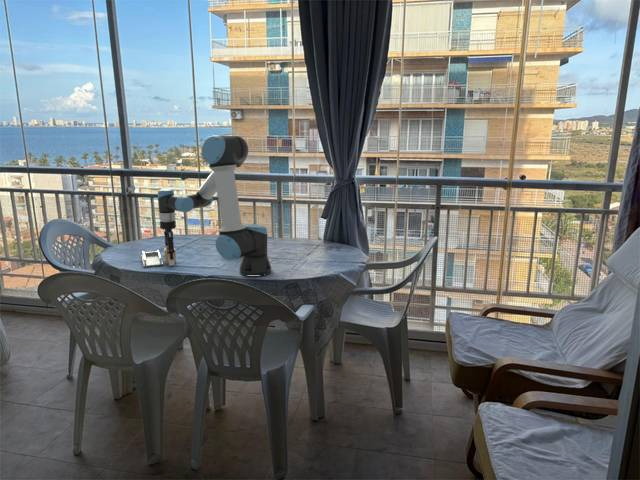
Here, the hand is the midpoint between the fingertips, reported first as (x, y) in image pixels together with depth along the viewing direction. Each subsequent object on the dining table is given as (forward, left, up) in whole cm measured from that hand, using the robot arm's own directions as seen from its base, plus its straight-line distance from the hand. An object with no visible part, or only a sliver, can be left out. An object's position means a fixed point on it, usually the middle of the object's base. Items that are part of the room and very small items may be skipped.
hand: (170, 261), depth 224 cm
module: (0, 0, 0) cm, 0 cm away
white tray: (+5, +8, 0) cm, 10 cm away
